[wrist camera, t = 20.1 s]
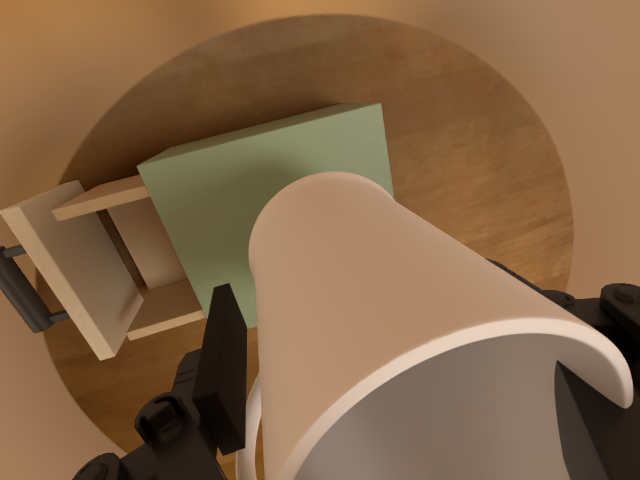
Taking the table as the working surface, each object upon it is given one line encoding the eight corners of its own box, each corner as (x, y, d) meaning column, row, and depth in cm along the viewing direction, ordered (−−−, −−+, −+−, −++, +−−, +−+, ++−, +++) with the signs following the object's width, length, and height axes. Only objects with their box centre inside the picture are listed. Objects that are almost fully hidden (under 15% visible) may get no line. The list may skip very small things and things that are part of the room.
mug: (286, 376, 20) (334, 691, 9) (168, 299, 17) (25, 658, 6) (432, 245, 19) (686, 436, 8) (336, 132, 15) (555, 196, 4)
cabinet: (224, 278, 34) (216, 339, 25) (171, 147, 29) (135, 165, 20) (367, 236, 36) (405, 280, 27) (342, 102, 30) (381, 102, 21)
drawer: (81, 320, 32) (32, 382, 25) (1, 199, 27) (-90, 233, 20) (275, 262, 34) (282, 305, 27) (235, 138, 29) (230, 150, 21)
